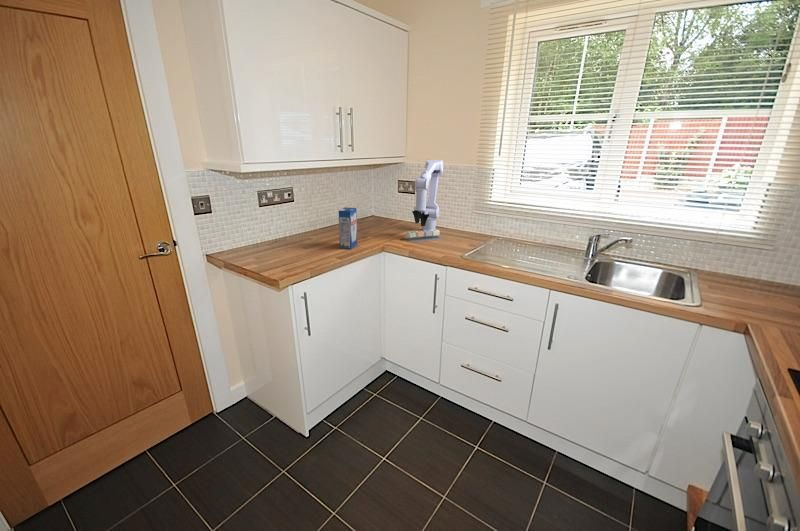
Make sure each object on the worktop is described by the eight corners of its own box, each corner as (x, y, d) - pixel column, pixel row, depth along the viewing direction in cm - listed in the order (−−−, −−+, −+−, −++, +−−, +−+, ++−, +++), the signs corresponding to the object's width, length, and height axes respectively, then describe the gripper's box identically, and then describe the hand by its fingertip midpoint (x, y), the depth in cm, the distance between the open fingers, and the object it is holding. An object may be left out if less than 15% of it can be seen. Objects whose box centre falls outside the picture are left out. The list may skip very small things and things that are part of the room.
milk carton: (351, 249, 178) (350, 211, 171) (339, 248, 179) (338, 210, 172) (357, 244, 187) (356, 207, 180) (346, 243, 188) (345, 207, 181)
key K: (422, 234, 199) (422, 230, 199) (428, 233, 201) (428, 229, 200) (425, 236, 196) (425, 231, 195) (431, 235, 197) (432, 231, 197)
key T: (414, 235, 198) (415, 230, 197) (421, 234, 199) (421, 230, 198) (417, 236, 194) (418, 232, 193) (424, 236, 196) (424, 232, 195)
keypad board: (403, 238, 200) (403, 236, 199) (433, 236, 207) (433, 234, 207) (411, 244, 190) (411, 242, 189) (443, 241, 197) (443, 239, 197)
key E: (406, 235, 196) (407, 231, 195) (413, 235, 197) (413, 231, 196) (409, 237, 192) (410, 233, 191) (416, 236, 194) (416, 232, 193)
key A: (430, 233, 201) (430, 229, 200) (436, 233, 203) (436, 229, 202) (433, 235, 198) (433, 231, 197) (439, 234, 199) (439, 230, 198)
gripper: (409, 198, 195) (408, 222, 199) (420, 202, 182) (419, 227, 187) (420, 198, 197) (419, 221, 202) (432, 202, 185) (430, 227, 189)
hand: (420, 224), depth 194 cm, fingers open, 7 cm apart
